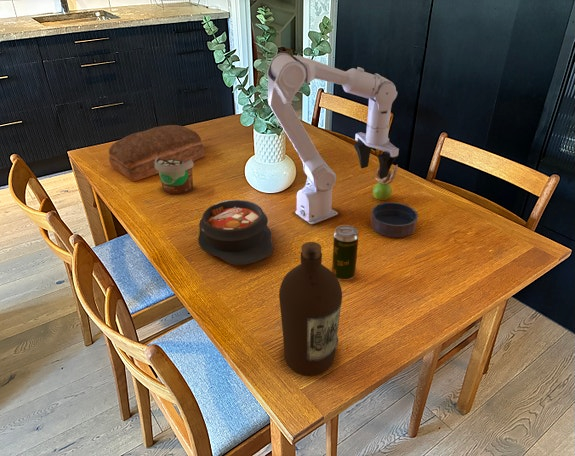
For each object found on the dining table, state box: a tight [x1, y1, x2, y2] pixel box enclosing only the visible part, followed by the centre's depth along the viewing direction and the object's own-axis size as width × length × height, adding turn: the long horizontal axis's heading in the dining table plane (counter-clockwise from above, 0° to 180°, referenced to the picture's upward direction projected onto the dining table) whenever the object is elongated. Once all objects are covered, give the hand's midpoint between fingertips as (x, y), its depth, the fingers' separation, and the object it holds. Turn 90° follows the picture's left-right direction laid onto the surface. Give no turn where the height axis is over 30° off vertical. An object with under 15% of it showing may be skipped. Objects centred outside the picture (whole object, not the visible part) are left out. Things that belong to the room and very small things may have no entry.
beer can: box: [331, 224, 359, 282], centre depth 102 cm, size 5×5×12 cm
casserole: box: [197, 199, 275, 266], centre depth 115 cm, size 25×19×8 cm
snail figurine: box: [372, 164, 399, 201], centre depth 131 cm, size 5×6×12 cm
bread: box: [108, 124, 206, 182], centre depth 156 cm, size 17×29×11 cm, turn 133°
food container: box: [155, 156, 195, 196], centre depth 138 cm, size 12×6×10 cm, turn 76°
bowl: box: [369, 201, 419, 239], centre depth 121 cm, size 12×12×4 cm
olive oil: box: [278, 241, 343, 377], centre depth 79 cm, size 11×11×25 cm
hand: (373, 172), depth 127 cm, fingers open, 7 cm apart
